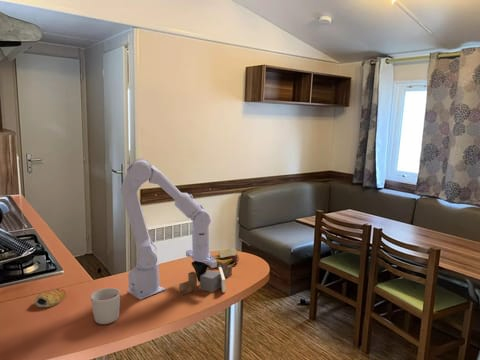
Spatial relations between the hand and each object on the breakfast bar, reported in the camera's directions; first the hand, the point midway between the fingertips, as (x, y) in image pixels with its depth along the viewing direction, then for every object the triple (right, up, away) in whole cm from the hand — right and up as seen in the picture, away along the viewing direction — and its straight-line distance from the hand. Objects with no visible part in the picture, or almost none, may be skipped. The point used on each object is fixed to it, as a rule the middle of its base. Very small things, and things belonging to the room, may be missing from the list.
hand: (201, 280), depth 129 cm
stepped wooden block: (+2, -1, +1) cm, 2 cm away
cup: (-26, -5, -21) cm, 34 cm away
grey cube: (+3, -2, -2) cm, 4 cm away
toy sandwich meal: (+6, +2, +20) cm, 21 cm away
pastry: (-46, -4, -12) cm, 48 cm away
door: (+7, -1, 0) cm, 7 cm away
